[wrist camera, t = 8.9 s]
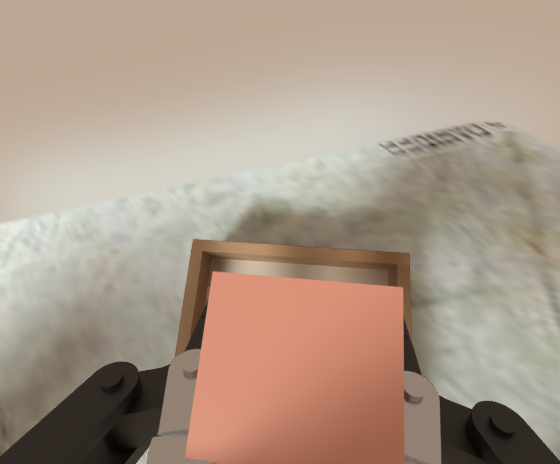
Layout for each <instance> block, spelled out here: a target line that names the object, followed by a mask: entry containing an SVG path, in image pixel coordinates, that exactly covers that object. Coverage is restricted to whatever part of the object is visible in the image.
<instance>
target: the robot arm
mask: <svg viewBox="0 0 560 464" xmlns="http://www.w3.org/2000/svg"><path fill="white" fill-rule="evenodd" d="M208 299H209V298H208ZM207 306H208V300H207V303H206V305H205V307H204V309H203V312H202V314H201V317H200V318H199V320H198V323H197V325H196V327H195V329H194V332H193V334H192V336H191V338H190V340H189V343H188V345H187V347H186V349H185V351H184V352H183V353H181V354H180V355H178V356H177V357H176V358H175V359H174V360H173V361H172V362H171V364H169V365H167V366H165V367H162V368H157V369H152V370H146V371H140V372H138V369H137V368H136V366H135V365H133V364H132V363H129V362H115V363H111V364H108V365H106V366H104V367H102V368H101V369H99V370H98V371H96V372H95V373H94V374H93V375H92V376H91V377H89V378H88V379H87V380H86V381H85V382H84V383H83V384H82V385H80V386H79V387H78V388H77V389H76V390H75V391H74V392H73V393H71V394H70V395H69V396H68V397H67V398H66V399H65V400H64V401H62V402H61V403H60V404H59V405H58V406H57V407H56V408H55V409H53V410H52V411H51V412H50V413H49V414H48V415H47V416H45V417H44V418H43V419H42V420H41V421H40V422H39V423H38V424H36V425H35V426H34V427H33V428H32V429H31V430H30V431H29V432H27V433H26V434H25V435H24V436H23V437H22V438H21V439H20V440H18V441H17V442H16V443H15V444H14V445H13V446H12V447H10V448H9V449H8V450H7V451H6V452H5V453H4V454H3V455H1V456H0V464H136V463H137V461H138V460H139V459H140V458H141V456H142V455H143V454H144V453H145V451H146V450H147V449H148V447H149V446H150V448H149V453H148V459H147V464H213V462H210V461H203V460H195V459H188V458H185V454H186V447H187V440H188V433H189V427H190V420H191V413H192V407H193V400H194V393H195V387H196V380H197V373H198V366H199V360H200V353H201V346H202V340H203V333H204V326H205V320H206V313H207ZM403 325H404V464H560V461H559V460H558V459H557V457H556V456H555V455H554V454H553V453H552V452H551V451H550V449H549V448H548V447H547V446H546V445H545V444H544V443H543V441H542V440H541V439H540V438H539V437H538V436H537V435H536V433H535V432H534V431H533V430H532V429H531V428H530V427H529V425H528V424H527V423H526V422H525V421H524V420H523V419H522V418H521V417H520V416H519V415H518V414H517V413H516V412H514V411H513V410H512V409H510V408H508V407H507V406H505V405H502V404H500V403H497V402H493V401H481V402H478V403H477V404H475V406H474V407H473V409H470V408H467V407H465V406H462V405H460V404H457V403H454V402H452V401H449V400H447V399H445V398H443V397H441V396H440V395H438V392H437V390H436V388H435V387H434V386H433V384H432V383H431V382H430V381H428V380H427V379H426V378H425V377H423V376H422V375H421V372H420V369H419V365H418V362H417V359H416V355H415V352H414V349H413V345H412V342H411V339H410V335H409V332H408V329H407V325H406V322H405V319H404V315H403Z"/></svg>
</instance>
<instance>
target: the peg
mask: <svg viewBox="0 0 560 464" xmlns="http://www.w3.org/2000/svg"><path fill="white" fill-rule="evenodd" d="M185 458H188V459H195V460H203V461H210V462H213V464H404V325H403V287H393V286H381V285H369V284H357V283H345V282H333V281H321V280H309V279H297V278H286V277H274V276H262V275H250V274H238V273H226V272H214V271H213V273H212V279H211V286H210V293H209V299H208V306H207V313H206V320H205V326H204V333H203V340H202V346H201V353H200V360H199V366H198V373H197V380H196V387H195V393H194V400H193V407H192V413H191V420H190V427H189V433H188V440H187V447H186V454H185Z"/></svg>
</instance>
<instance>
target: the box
mask: <svg viewBox="0 0 560 464" xmlns="http://www.w3.org/2000/svg"><path fill="white" fill-rule="evenodd" d="M213 271H214V272H226V273H238V274H250V275H262V276H274V277H286V278H297V279H309V280H321V281H333V282H345V283H357V284H369V285H381V286H393V287H403V315H404V319H405V322H406V325H407V329H408V332H409V335H410V339H411V300H410V253H397V252H381V251H366V250H351V249H335V248H320V247H305V246H290V245H274V244H259V243H244V242H228V241H213V240H198V239H193V243H192V249H191V256H190V262H189V269H188V275H187V282H186V288H185V295H184V301H183V308H182V314H181V321H180V327H179V334H178V340H177V347H176V353H175V358H176V357H177V356H178V355H180V354H181V353H183V352H184V351H185V349H186V347H187V345H188V343H189V340H190V338H191V336H192V334H193V332H194V329H195V327H196V325H197V323H198V320H199V318H200V317H201V314H202V312H203V309H204V307H205V305H206V303H207V300H208V298H209V293H210V286H211V279H212V273H213Z"/></svg>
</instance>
